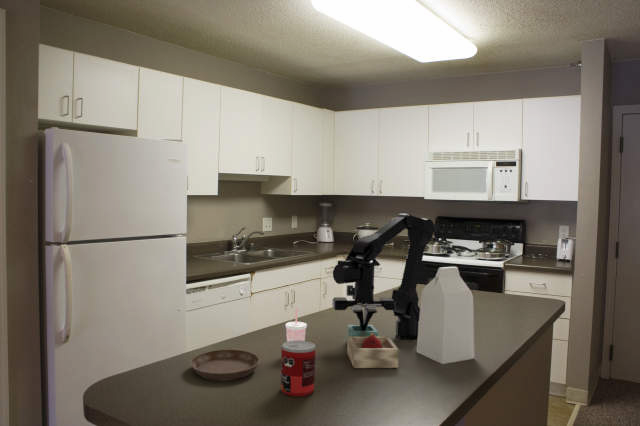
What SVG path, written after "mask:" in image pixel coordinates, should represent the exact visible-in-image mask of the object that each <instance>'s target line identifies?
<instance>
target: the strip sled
mask: <svg viewBox="0 0 640 426" xmlns="http://www.w3.org/2000/svg"><path fill="white" fill-rule="evenodd" d="M346 330H347V332H346V333H347V335H346V336H347V337H346V341H347V343H346V344H347V345H346V354H347V356H348V358H349V361H350V363H351V364H352V367H353V368H354V369H381V368H382V369H385V368H386V369H387V368H388V369H392V368H395V369H396V368H399V353H400V352H399V351H400V350H399V348H398V347H397V345H396V344H395V343H394V342H393V341H392V339H391V338H390V337H389V336H386V335H385V336H379V332H378V330H377V329H376V328H375V326H374V325H373V324H368V325H367V327H366V330H365V331H361V328H360V324H348V325H347V329H346ZM371 333H374V334H375V337H376V338H378V339H379V340H380V342H381V344H382V348H362V344H363V342H364V340H365V339H366V338H368V337H369V336H370V335H371Z"/></svg>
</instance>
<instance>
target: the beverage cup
mask: <svg viewBox="0 0 640 426" xmlns="http://www.w3.org/2000/svg"><path fill="white" fill-rule="evenodd" d="M284 325H285V328H286V329H285V330H286V342H288V341H306V329H307V328H308V324H307V323H306V322H302V321H298V306H295V319H294V321H287V323H285V324H284Z"/></svg>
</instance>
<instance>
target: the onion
mask: <svg viewBox="0 0 640 426" xmlns="http://www.w3.org/2000/svg"><path fill="white" fill-rule="evenodd" d="M362 348H382V344H381V342H380V340H379V339H378V338H376V337H375V334H374V333H371V335H370V336H369V337H368V338H366V339H365V340H364V342H363V344H362Z"/></svg>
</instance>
